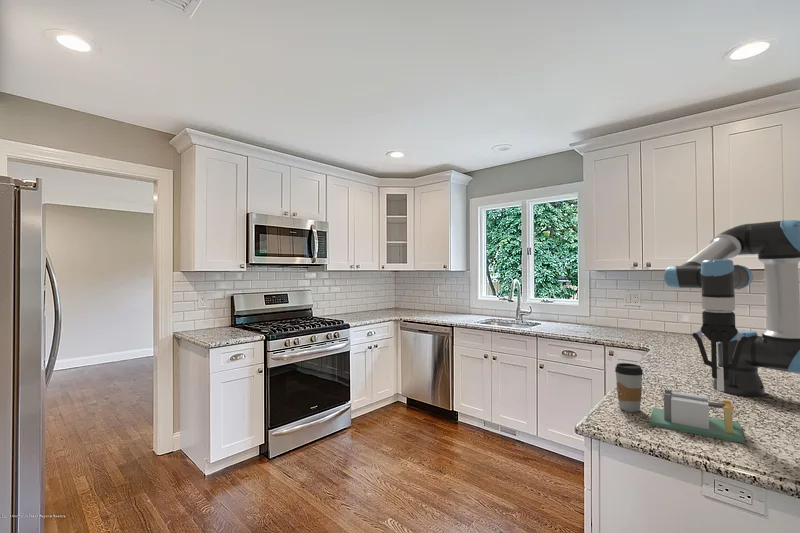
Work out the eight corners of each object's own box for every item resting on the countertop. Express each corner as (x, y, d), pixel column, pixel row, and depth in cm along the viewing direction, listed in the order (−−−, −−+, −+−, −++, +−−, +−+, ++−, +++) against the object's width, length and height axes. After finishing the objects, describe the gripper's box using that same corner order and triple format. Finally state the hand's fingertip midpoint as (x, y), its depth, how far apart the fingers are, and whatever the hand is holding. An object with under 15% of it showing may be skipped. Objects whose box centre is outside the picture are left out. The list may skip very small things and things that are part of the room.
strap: (665, 402, 120) (665, 398, 120) (666, 398, 123) (666, 395, 123) (733, 411, 110) (733, 407, 110) (732, 406, 113) (732, 403, 113)
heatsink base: (649, 424, 118) (648, 395, 118) (653, 411, 129) (652, 384, 129) (744, 443, 105) (743, 410, 105) (739, 426, 116) (739, 396, 116)
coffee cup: (610, 405, 136) (609, 363, 136) (632, 404, 136) (631, 362, 136) (626, 414, 127) (625, 369, 127) (649, 412, 128) (648, 368, 128)
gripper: (746, 310, 112) (748, 390, 112) (690, 308, 120) (693, 382, 120) (749, 313, 106) (751, 397, 106) (690, 311, 114) (693, 389, 114)
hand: (720, 389), depth 113 cm, fingers closed
